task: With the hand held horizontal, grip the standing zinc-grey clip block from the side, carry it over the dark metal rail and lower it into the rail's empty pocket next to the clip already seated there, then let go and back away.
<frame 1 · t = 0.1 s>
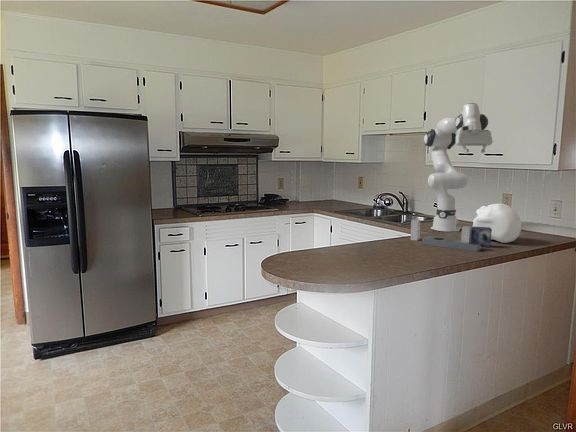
hand: (475, 152, 238), 52 cm above the counter, tool tilted 20°, fingers open, 8 cm apart
rail: (450, 246, 231), on the counter
small box: (479, 246, 233), on the counter
head: (492, 240, 249), on the counter
clip: (415, 239, 250), on the counter
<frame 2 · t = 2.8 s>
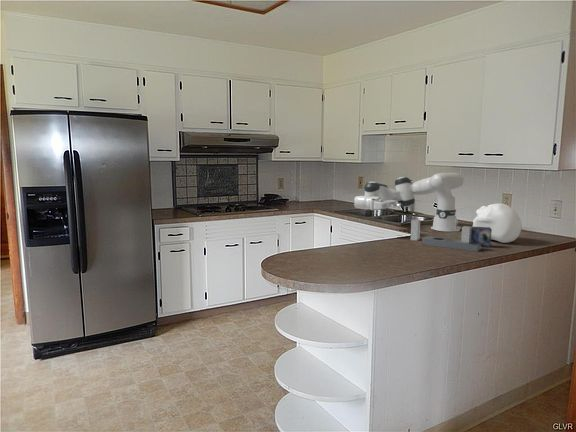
hand: (397, 205, 255), 20 cm above the counter, tool horizontal, fingers open, 8 cm apart
nothing on the counter moved.
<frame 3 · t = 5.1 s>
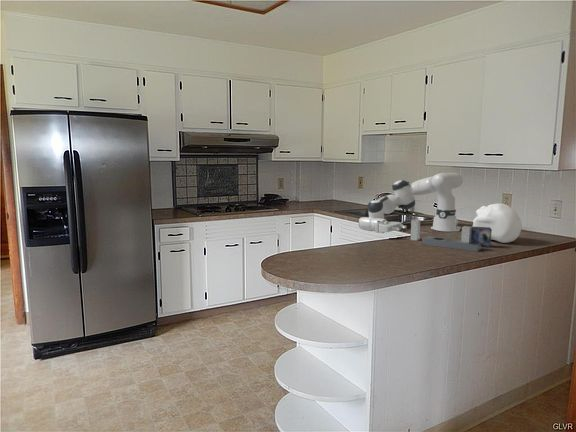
hand: (402, 228, 254), 6 cm above the counter, tool horizontal, fingers open, 8 cm apart
nothing on the counter moved.
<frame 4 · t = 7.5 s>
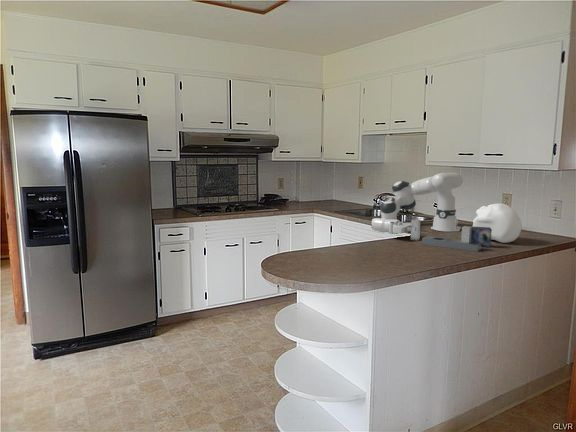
hand: (416, 229, 249), 7 cm above the counter, tool horizontal, fingers closed on clip, 4 cm apart
clip: (415, 239, 250), on the counter, touching gripper
everything else where it was.
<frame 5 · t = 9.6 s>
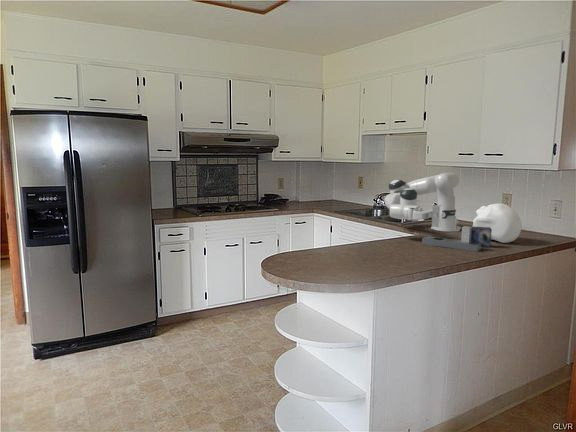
hand: (438, 215, 233), 17 cm above the counter, tool horizontal, fingers closed on clip, 4 cm apart
clip: (436, 226, 235), point 10 cm above the counter, touching gripper
everything else where it was.
when the fingers open (8 cm above the counter, at t = 12.1 s): clip drops 2 cm, resting in rail.
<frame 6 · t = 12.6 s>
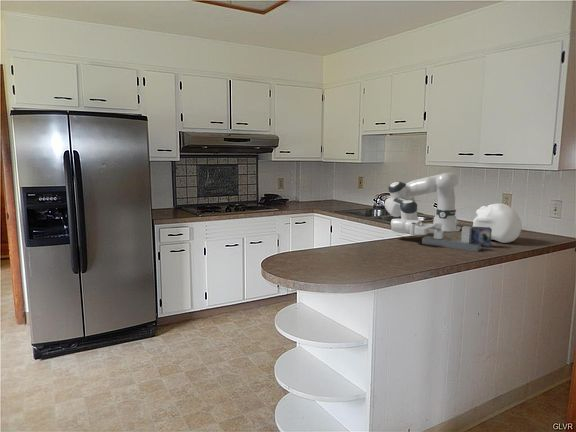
hand: (440, 230, 234), 8 cm above the counter, tool horizontal, fingers open, 8 cm apart
clip: (438, 244, 236), resting in rail
everything else where it was.
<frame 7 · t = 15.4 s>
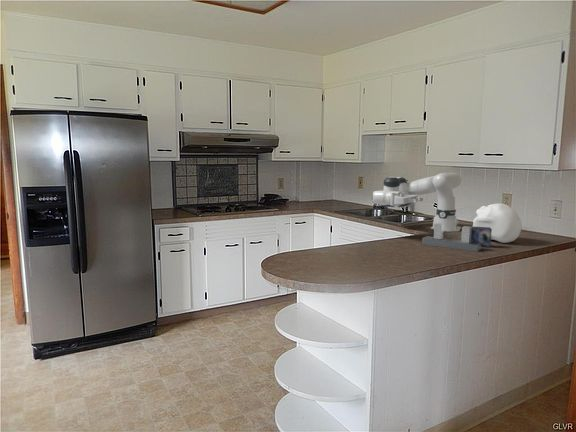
hand: (419, 200, 239), 25 cm above the counter, tool horizontal, fingers open, 8 cm apart
nothing on the counter moved.
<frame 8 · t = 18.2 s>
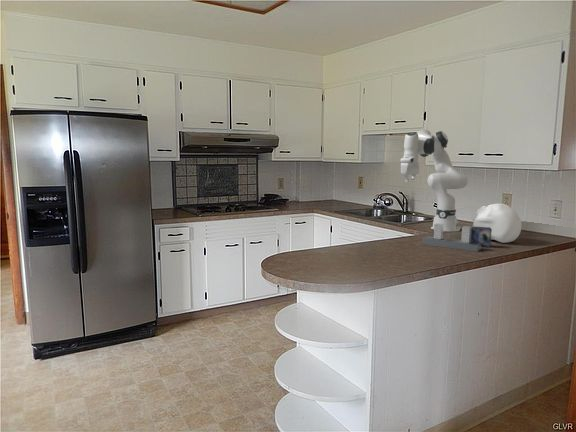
hand: (409, 181, 258), 34 cm above the counter, tool pointing down, fingers open, 8 cm apart
nothing on the counter moved.
at the end: clip 0.1 cm from the target spot on the rail, point 0.0 cm above the rail's base; clip tilted 0°; the gripper is holding nothing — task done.
